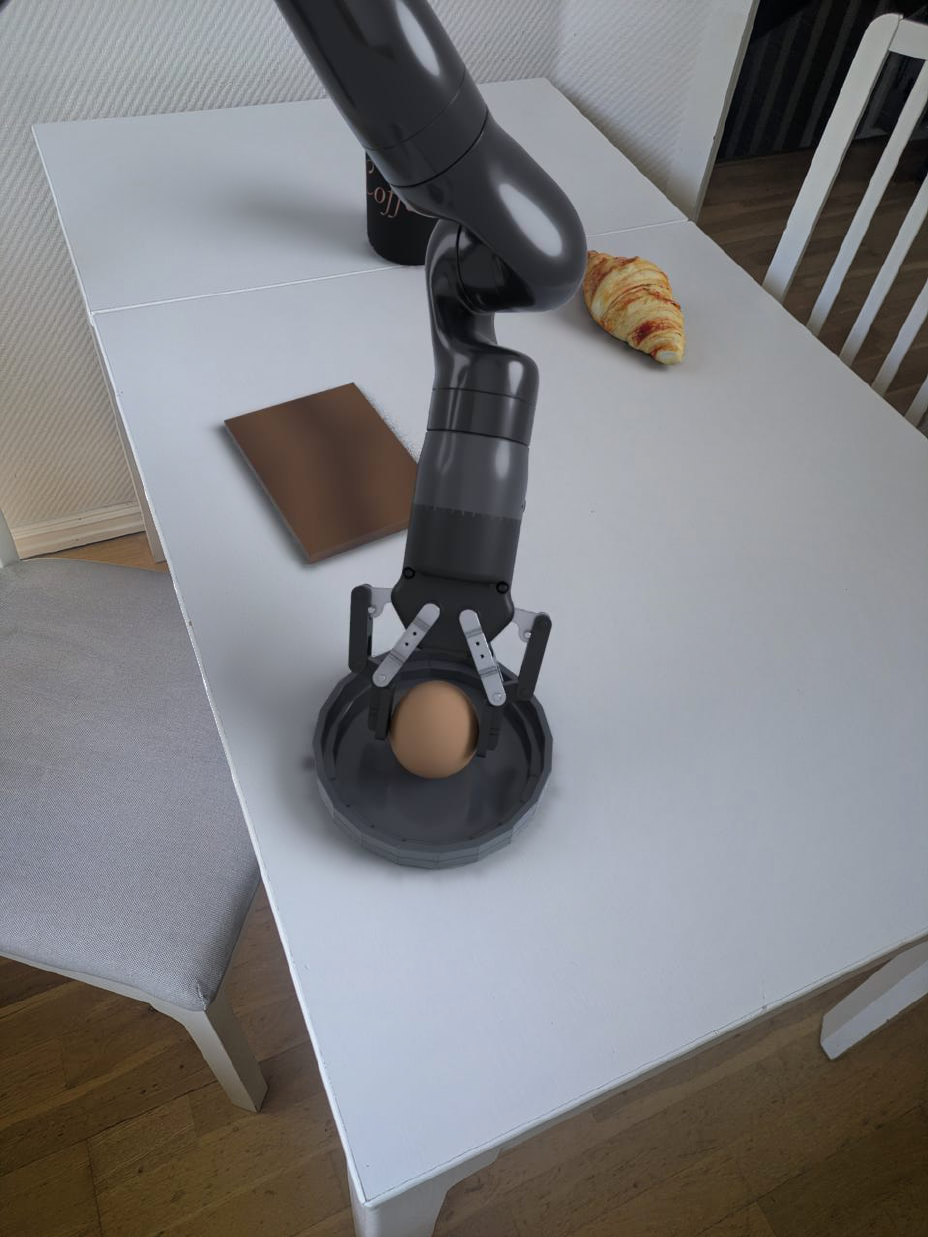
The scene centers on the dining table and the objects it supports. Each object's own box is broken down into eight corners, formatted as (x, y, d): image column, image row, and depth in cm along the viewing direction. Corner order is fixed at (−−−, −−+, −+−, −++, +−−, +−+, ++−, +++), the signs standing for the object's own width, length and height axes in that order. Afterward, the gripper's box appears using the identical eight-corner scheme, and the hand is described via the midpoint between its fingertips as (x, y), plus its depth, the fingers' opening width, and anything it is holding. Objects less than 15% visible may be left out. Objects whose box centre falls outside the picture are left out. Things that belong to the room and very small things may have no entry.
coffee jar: (349, 247, 111) (343, 89, 97) (402, 214, 117) (403, 61, 103) (419, 278, 108) (423, 119, 94) (469, 243, 114) (480, 88, 100)
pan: (382, 914, 60) (382, 897, 58) (279, 719, 69) (275, 698, 67) (591, 802, 66) (599, 783, 64) (472, 636, 75) (475, 614, 73)
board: (309, 564, 79) (308, 555, 78) (225, 429, 89) (223, 420, 88) (449, 513, 84) (449, 504, 83) (353, 391, 94) (353, 381, 93)
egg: (414, 708, 70) (417, 644, 63) (490, 742, 68) (500, 680, 62) (373, 773, 66) (371, 712, 60) (452, 811, 65) (458, 753, 58)
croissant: (688, 393, 103) (734, 333, 99) (631, 375, 97) (678, 311, 92) (597, 290, 114) (635, 233, 110) (540, 268, 108) (578, 206, 103)
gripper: (352, 488, 58) (317, 742, 59) (577, 523, 57) (534, 778, 59) (371, 492, 65) (340, 718, 67) (570, 523, 64) (532, 750, 66)
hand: (431, 745), depth 63 cm, fingers closed on egg, 6 cm apart
